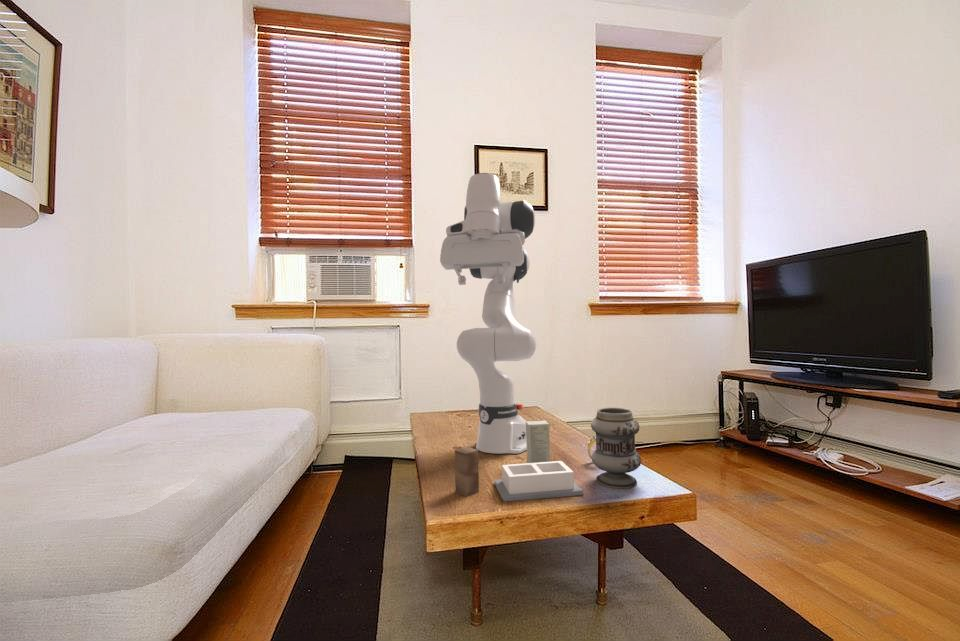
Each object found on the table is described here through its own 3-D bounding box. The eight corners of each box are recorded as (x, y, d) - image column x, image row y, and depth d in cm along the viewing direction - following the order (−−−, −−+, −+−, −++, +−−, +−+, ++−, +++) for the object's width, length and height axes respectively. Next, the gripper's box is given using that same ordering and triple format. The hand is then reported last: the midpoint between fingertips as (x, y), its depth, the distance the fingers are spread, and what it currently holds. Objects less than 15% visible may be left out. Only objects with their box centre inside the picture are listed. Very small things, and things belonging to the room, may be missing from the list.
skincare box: (547, 462, 124) (546, 420, 124) (550, 467, 119) (549, 423, 119) (526, 462, 124) (525, 420, 124) (528, 467, 119) (527, 424, 119)
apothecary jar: (600, 469, 117) (599, 403, 117) (647, 478, 110) (645, 408, 110) (584, 484, 107) (583, 411, 107) (634, 494, 100) (632, 417, 100)
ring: (588, 464, 121) (588, 436, 121) (585, 460, 125) (584, 433, 125) (612, 463, 122) (612, 435, 122) (608, 459, 125) (608, 432, 125)
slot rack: (503, 501, 97) (503, 479, 97) (494, 483, 108) (494, 463, 108) (583, 494, 100) (582, 473, 100) (566, 478, 111) (565, 458, 111)
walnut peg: (467, 487, 106) (467, 446, 106) (478, 491, 103) (478, 450, 103) (455, 491, 103) (454, 450, 103) (466, 496, 100) (465, 453, 100)
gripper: (525, 235, 107) (526, 286, 103) (446, 240, 110) (443, 289, 106) (523, 222, 101) (524, 275, 97) (440, 227, 104) (436, 279, 100)
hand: (481, 283), depth 101 cm, fingers open, 8 cm apart
